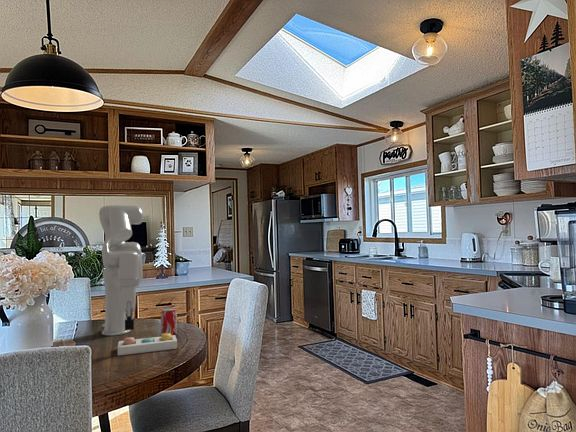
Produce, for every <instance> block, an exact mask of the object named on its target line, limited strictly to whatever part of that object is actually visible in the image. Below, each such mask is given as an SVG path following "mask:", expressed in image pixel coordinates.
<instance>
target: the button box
mask: <svg viewBox="0 0 576 432" xmlns="http://www.w3.org/2000/svg"><path fill="white" fill-rule="evenodd" d="M146 338H147V337H144V338H136V339H135V344H130V345H124V340H119V341H118V344H117V356H126V355H133V354H142V353H143V354H144V353H151V352H159V351H167V350H168V351H169V350H176V349H178V339H177V336H176V335H171V340H166V341H161V336H153V337H151V338H153V342H148V343H143V339H146Z"/></svg>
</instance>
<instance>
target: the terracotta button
mask: <svg viewBox="0 0 576 432" xmlns="http://www.w3.org/2000/svg"><path fill="white" fill-rule="evenodd" d="M123 341H124V345H130V344H135V337H134V336H129V337H128V336H127V337H124V338H123Z"/></svg>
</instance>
